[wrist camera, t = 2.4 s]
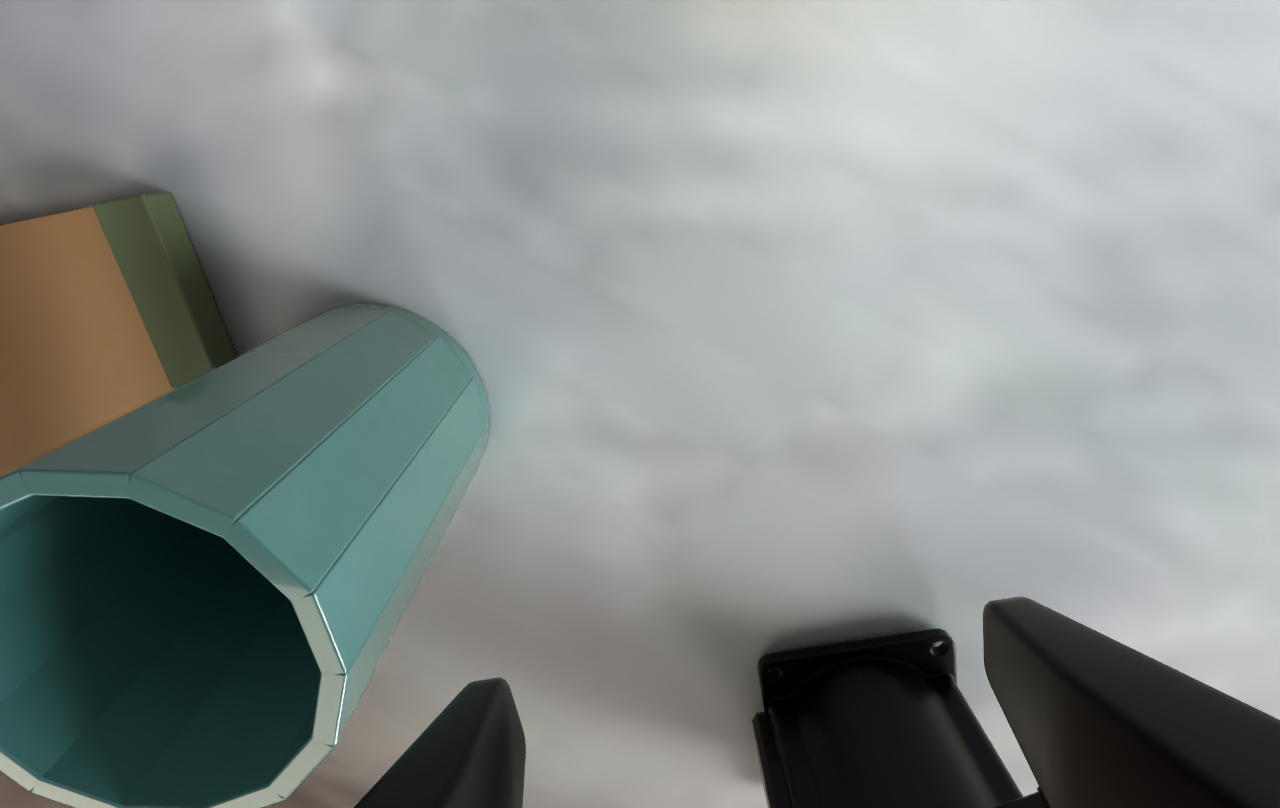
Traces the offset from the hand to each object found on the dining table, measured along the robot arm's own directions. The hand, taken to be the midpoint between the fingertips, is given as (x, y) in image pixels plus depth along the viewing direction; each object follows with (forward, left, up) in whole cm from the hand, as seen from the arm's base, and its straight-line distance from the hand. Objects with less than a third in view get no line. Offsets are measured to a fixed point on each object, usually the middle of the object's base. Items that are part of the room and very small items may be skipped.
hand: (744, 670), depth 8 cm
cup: (+9, 0, -13) cm, 16 cm away
